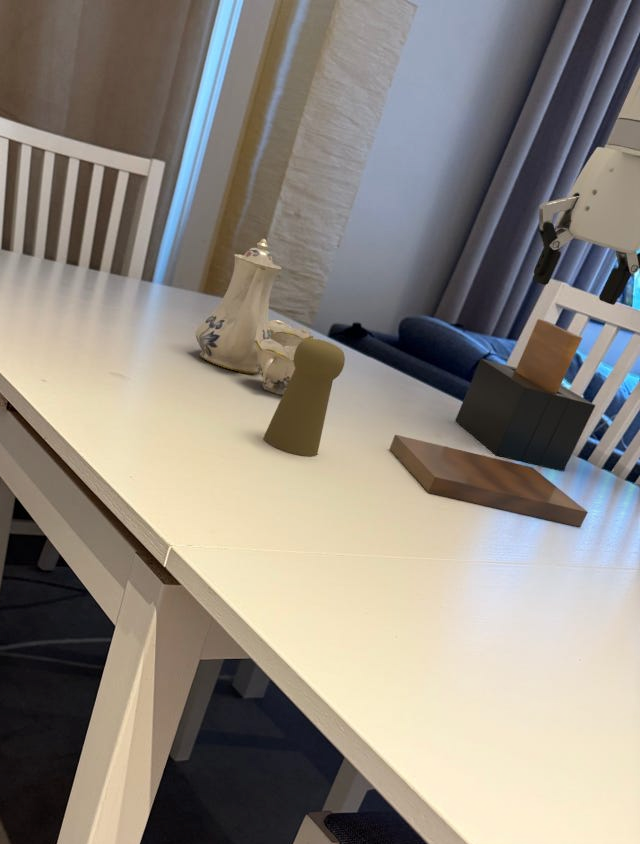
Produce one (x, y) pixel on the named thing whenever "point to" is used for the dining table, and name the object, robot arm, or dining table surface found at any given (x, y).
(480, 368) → the grooved black box
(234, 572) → the dining table surface
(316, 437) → the cork
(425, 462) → the breadboard
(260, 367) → the chinaware
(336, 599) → the dining table surface
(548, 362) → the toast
